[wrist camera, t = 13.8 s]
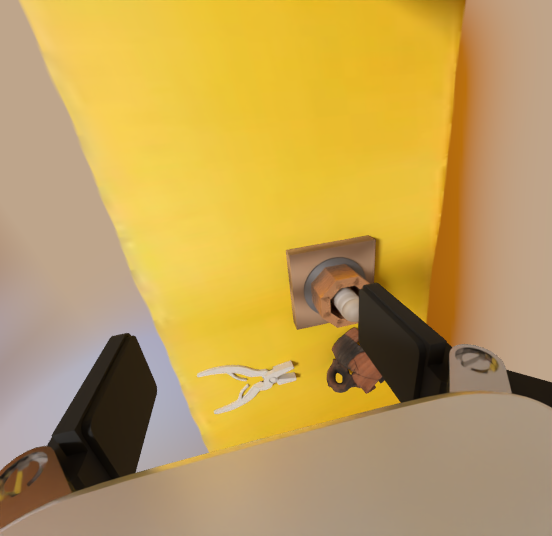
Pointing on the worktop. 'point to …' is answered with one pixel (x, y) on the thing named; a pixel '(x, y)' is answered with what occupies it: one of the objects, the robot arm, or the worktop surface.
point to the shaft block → (311, 263)
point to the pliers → (268, 376)
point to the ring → (334, 291)
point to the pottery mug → (352, 365)
